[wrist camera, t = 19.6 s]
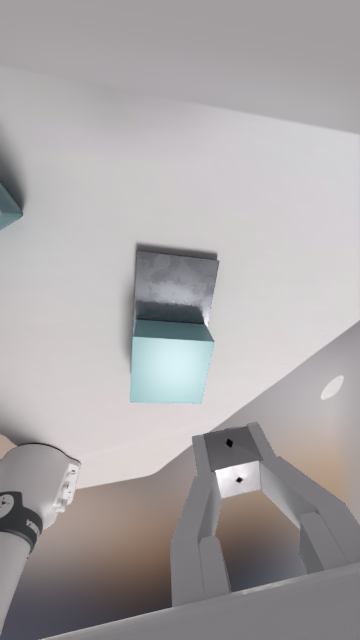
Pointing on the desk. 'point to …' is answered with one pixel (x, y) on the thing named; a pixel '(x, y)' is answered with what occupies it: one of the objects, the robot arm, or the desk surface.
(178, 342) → the cover
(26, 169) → the desk surface
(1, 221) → the flower pot
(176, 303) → the housing base
